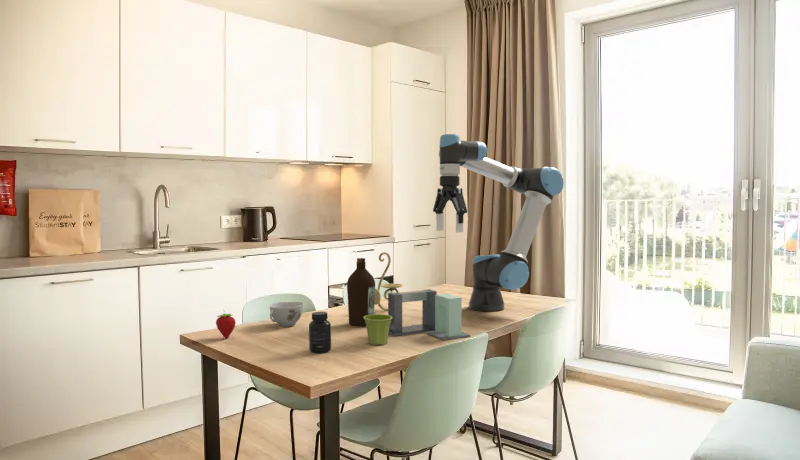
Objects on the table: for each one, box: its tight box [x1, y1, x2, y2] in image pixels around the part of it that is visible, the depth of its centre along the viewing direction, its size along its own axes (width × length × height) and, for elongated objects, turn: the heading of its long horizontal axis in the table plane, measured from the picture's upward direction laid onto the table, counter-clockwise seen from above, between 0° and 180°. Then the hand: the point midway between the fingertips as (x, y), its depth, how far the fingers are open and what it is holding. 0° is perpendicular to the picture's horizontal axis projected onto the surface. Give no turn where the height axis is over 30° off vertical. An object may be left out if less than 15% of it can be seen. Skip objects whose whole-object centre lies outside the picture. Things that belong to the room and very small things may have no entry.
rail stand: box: [387, 289, 438, 337], centre depth 200 cm, size 19×8×14 cm, turn 118°
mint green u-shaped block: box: [435, 293, 463, 337], centre depth 194 cm, size 5×9×13 cm, turn 28°
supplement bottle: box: [308, 311, 332, 355], centre depth 175 cm, size 7×7×12 cm
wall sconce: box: [374, 251, 404, 312], centre depth 236 cm, size 14×10×25 cm
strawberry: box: [215, 310, 236, 339], centre depth 191 cm, size 6×8×10 cm
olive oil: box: [346, 257, 376, 328], centre depth 210 cm, size 11×11×25 cm
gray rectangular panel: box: [425, 331, 471, 341], centre depth 195 cm, size 11×11×1 cm
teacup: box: [269, 301, 304, 328], centre depth 209 cm, size 15×12×8 cm
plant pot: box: [364, 313, 392, 346], centre depth 184 cm, size 9×9×9 cm
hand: (449, 231), depth 214 cm, fingers open, 13 cm apart
